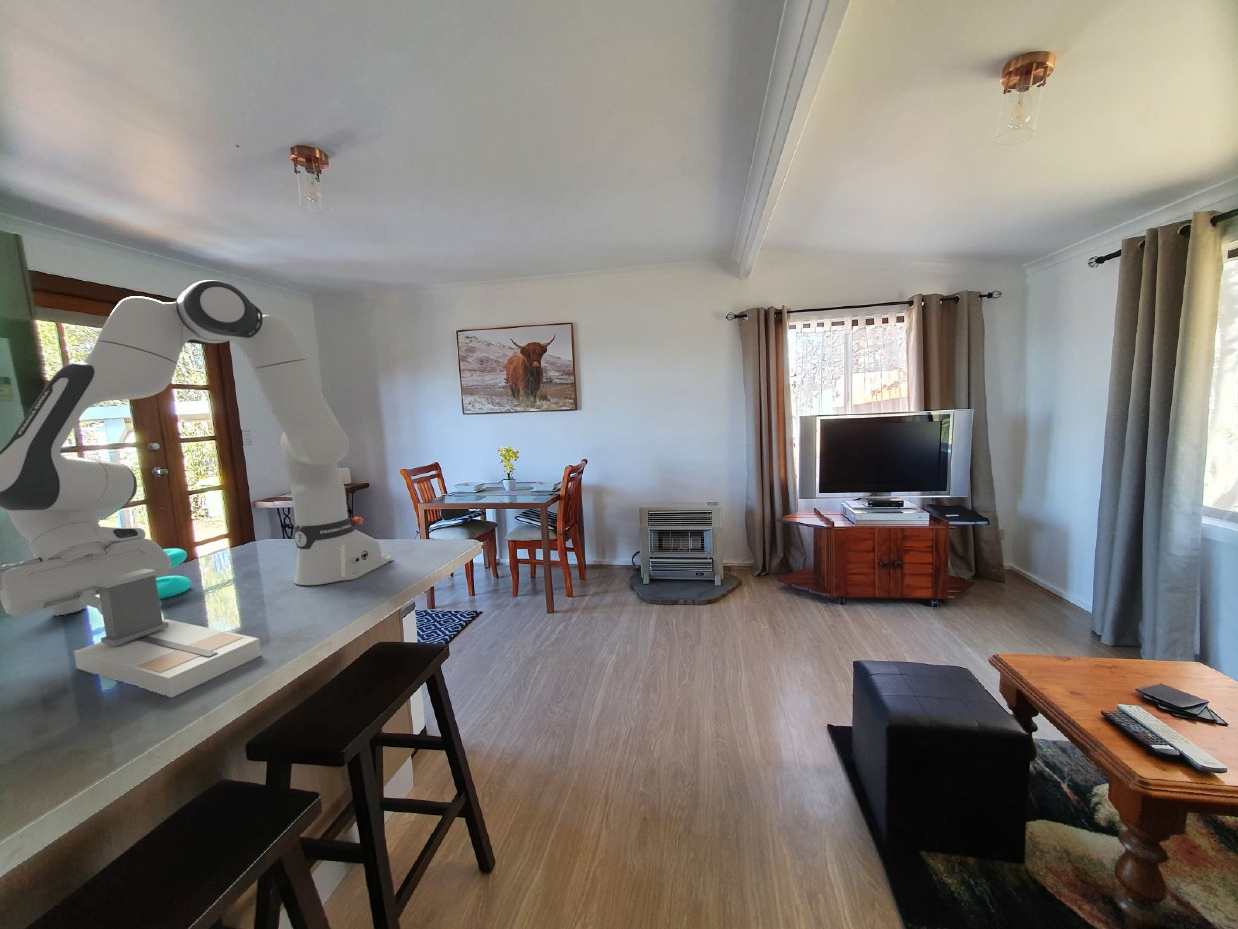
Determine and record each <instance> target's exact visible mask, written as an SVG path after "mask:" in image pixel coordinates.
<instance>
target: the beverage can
mask: <svg viewBox="0 0 1238 929" xmlns="http://www.w3.org/2000/svg"><path fill="white" fill-rule="evenodd" d="M87 606H88V605H85V604H83V603H82V602H81V600H76V601H72V602H69V603H65V604H61V605H58V606H54V607H51V613H52V615H54V616H56V617H60V616H59V615H64V614H69V613H74V612H77V611H80V610H82V609H84V610H85V609H86V607H87ZM82 611H83V610H82ZM80 612H81V611H80ZM77 613H78V612H77ZM74 614H75V613H74ZM64 616H65V615H64Z"/></svg>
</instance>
